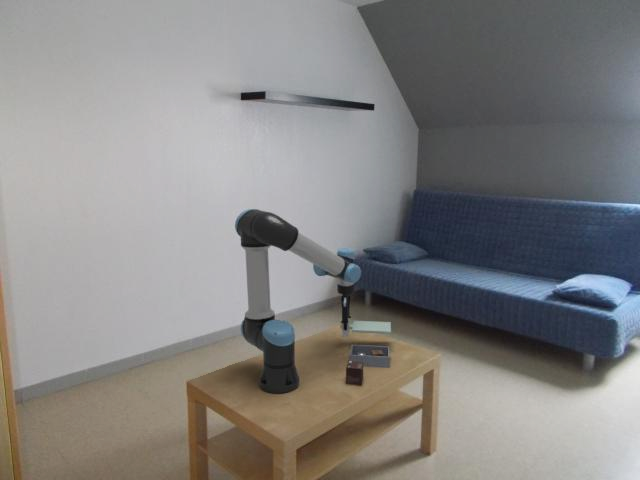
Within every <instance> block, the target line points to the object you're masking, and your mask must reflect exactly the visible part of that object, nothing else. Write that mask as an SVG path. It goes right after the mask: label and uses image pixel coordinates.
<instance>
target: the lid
mask: <svg viewBox="0 0 640 480" xmlns="http://www.w3.org/2000/svg"><path fill="white" fill-rule="evenodd" d="M348 322H349V330H351V333H356V334H357V333H360V334H361V333H362V334H381V335H383V334H385V335H386V334H387V335H391V334H392V328H391V327H392V324H391V323H392V322H391V321H372V320H371V321H368V320H367V321H365V320H353V323H351V318H348ZM339 328H340V329H341V330H342V323H341V322H340V326H339Z"/></svg>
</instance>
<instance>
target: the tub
mask: <svg viewBox="0 0 640 480" xmlns="http://www.w3.org/2000/svg"><path fill="white" fill-rule="evenodd" d="M371 350H381V351H382V353H383V356H371ZM358 352H365V355H358ZM349 361H355V362H363V367H368V368H370V367H371V368H372V367H373V368H388V369H389V368H390V346H388V345H387V346H385V345H368V344H367V345H365V344H351V345H350V351H349Z"/></svg>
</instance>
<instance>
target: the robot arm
mask: <svg viewBox="0 0 640 480" xmlns="http://www.w3.org/2000/svg"><path fill="white" fill-rule="evenodd" d="M234 229H235V232H236V233H237V235H238V236H239V237H240V246H241V248H242V249H243V250H244V251H245V268H246V269H245V270H246V288H247V305H248V306H247V307H248V310H246V311H245V313H244V318H243V320H242V321H241V324H240V332H241V336H242V337H243V339H244V340H245V341H247V343H249V344H250V345H251V346H254V347H255V348H257V350H258V349H259V350H260V352H261V351H262V354H263V357H262V359H263V366H262V369H261V371H260V375H259V379H258V382H259V383H258V384H259V385H258V386H259V388H260V389H261V390H263V391H264V392H267V393H271V394H285V393H289V392H293V391H294V390H296V389H297V388H299V386H300V384H301V383H300V375H299V371H298V370H297V366H296V364H295V363H296V361H295V359H296V358H295V357H296V355H295V351H296V350H295V349H296V347H295V346H296V345H295V339H296V334H295V328H294V326H293V325H292V324H291V323H290V322H288V321H287V320H286V321H285V320H281V319H276V318H275V317H276V316H275V315H276V314H275V311H274V310H273V309H272V308H271V290H270V266H269V265H270V264H269V249H270V247H271V246H272V247H274V248H277V249H279V250H282V251H284V252H287V251H289V252H290V253H293V254H295V255H296V256H297V257H300V258H302V259H303V260H306V261H307V262H309V263H311V264H312V265H313V266H312V267H313V268H312V269H313V272H314V274H315V275H317V277H325V276H329V277H332V278H334V279H335V278H336V279H337V280H336V283H337V293H338V294H339V295H341V297H340V301H341V321H340V324H341V323H342V329H341V331H342V333H341V335H342V336H341V337H343V338H349V336H350V335H349V334H350V329H349V322H348V318H350V319H351V318H352V316H351V313H350V308H351V307H350V305H351V297H352V296H351V295H352V294H355V292H356V291H355V283H357V282H358V281H359V280H360V278H361V276H362V275H361V274H362V270H361V268H360V266H359V265H358V264H356V257H355V250H354V249H352V248H346V247H345V248H340V249H337V253H336V254H335V252H332V251H331V250H329V249H328V248H326V247H324V246H323V245H321V244H319V243H317V242H316V241H314V240H312V239H311V238H309V237H307V236H306V235H303V234H302V233H300V231H299V229H298V228H297V227H296V226H294V225H292V224H291V223H290V222H288V221H287V220H285V219H283V218H282V217H280V216H279V215H277V214H276V213H273V212H270V211H265V210H261V209H255V208H250V209H249V208H248V209H245V210H243V211H242V212H240V214H239V215H238V216H237V217H236V220H235V224H234Z"/></svg>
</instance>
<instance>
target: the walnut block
mask: <svg viewBox="0 0 640 480" xmlns="http://www.w3.org/2000/svg"><path fill="white" fill-rule="evenodd" d="M371 356H383V353H382V351H381V350H371Z"/></svg>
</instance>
